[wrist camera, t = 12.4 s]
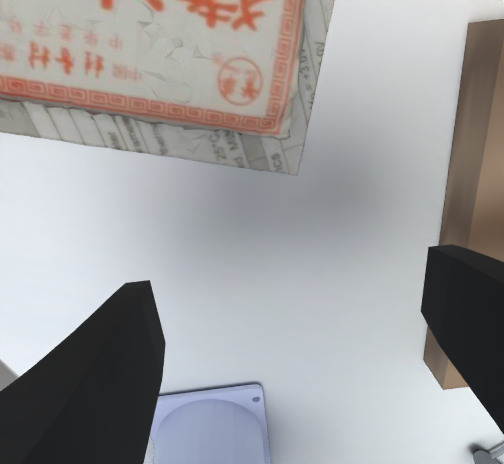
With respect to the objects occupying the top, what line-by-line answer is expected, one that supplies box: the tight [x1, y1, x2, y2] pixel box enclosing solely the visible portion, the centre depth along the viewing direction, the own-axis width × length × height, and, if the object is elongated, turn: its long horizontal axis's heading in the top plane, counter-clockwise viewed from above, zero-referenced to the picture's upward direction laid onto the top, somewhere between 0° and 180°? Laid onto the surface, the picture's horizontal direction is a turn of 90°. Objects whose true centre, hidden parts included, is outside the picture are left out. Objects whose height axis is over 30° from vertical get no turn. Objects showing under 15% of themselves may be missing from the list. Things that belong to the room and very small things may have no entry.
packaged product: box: [0, 0, 334, 175], centre depth 14 cm, size 18×5×10 cm
